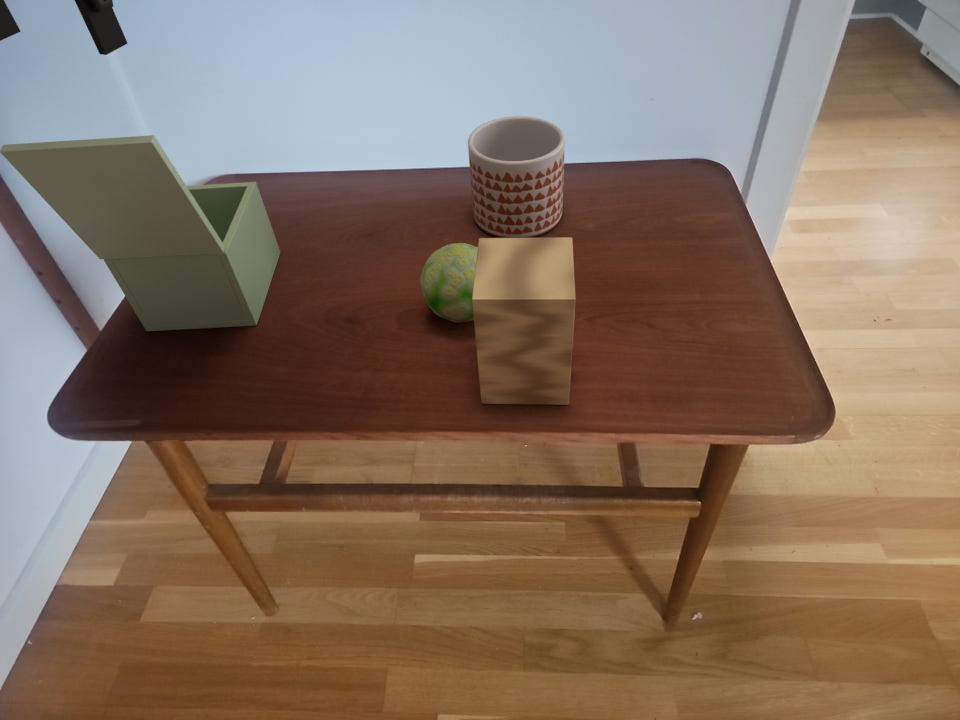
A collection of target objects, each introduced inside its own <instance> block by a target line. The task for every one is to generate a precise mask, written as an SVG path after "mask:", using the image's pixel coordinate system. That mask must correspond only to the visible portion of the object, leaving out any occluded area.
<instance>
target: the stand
mask: <svg viewBox="0 0 960 720" xmlns="http://www.w3.org/2000/svg"><path fill="white" fill-rule="evenodd" d="M573 241H574V240H573V237H571V236H570V237H565V236H562V237H561V236H560V237H557V236H556V237H532V238H500V237H479V238H478V243H477V247H478V251H477V260H476V269H475V278H474V287H473V296H472V304H473V315H474V320H473V324H474V325H473V326H474V336H475V337H474V338H475V347H476V348H475V349H476V358H477V368H478V369H477V372H478V381H479V392H480V403H481V405H482V404H483V405H547V406H558V405H559V406H568V405H570V394H571V393H570V391H571V378H572V377H571V376H572V375H571V374H572V362H573V361H572V360H573V345H574V331H575V315H576V297H577V296H576V283H575V282H576V281H575V280H576V279H575V265H574V264H575V263H574V243H573Z"/></svg>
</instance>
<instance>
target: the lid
mask: <svg viewBox="0 0 960 720" xmlns="http://www.w3.org/2000/svg"><path fill="white" fill-rule="evenodd" d="M0 154H1V155H2V156H3V157H4V158H5V159H6V160H7V161H8V162H9V164H10V165H11V166H12V167H13V168H14V169H15V170H16V171H17V172H18V174H20V176H21V177H23V179H24V180H25V181H26V182H27V183H28V184H29V185H30V186H31V187H32V188H33V190H35V191H36V193H37V194H38V195H39V196H40V197H41V198H42V199H43V200H44V201H45V203H47V204H48V205H49V206H50V208H51V209H52V210H53V211H54V212H55V213H56V214H57V215H58V216H59V218H61V219H62V221H63V222H64V223H65V224H66V225H67V226H68V227H69V228H70V229H71V230H72V231H73V232H74V233H75V234H76V235H77V237H78V238H79V239H80V240H81V241H82V242H83V243H84V244H85V245H86V246H87V247H88V248H89V249H90V250H91V251H92V252H93V254H94V255H95V256H96V257H97V258H98V259H99V260H104V259H116V258H133V257H151V256H168V255H186V254H203V253H221V252H224V247H225V246H224V244H223V243H222V241H221V240H220V238H219V236H218V235H217V233H216V232H215V230H214V229H213V227H212V225H211V224H210V222H209V221H208V219H207V218H206V216H205V214H204V213H203V211H202V210H201V208H200V207H199V205H198V203H197V202H196V200H195V199H194V197H193V196H192V194H191V193H190V191H189V189H188V188H187V186H188V185H187V184H186V183H185V181H184V179H183V178H182V177H181V175H180V173H178V170H177V168H176V167H175V165H174V164H173V163H172V161H171V160H170V158H169V156H168V155H167V153H166V152H165V150H164V149H163V147H162V146H161V144H160V142H159V141H158V139H157V138H156V136H155V135H153V134H152V135H135V136H121V137H120V136H119V137H108V138H107V137H106V138H105V137H104V138H88V139H87V138H86V139H73V140H72V139H71V140H60V141H59V140H57V141H56V140H55V141H43V142H42V141H41V142H27V143H25V142H24V143H9V144H8V143H7V144H2V146H1V148H0Z"/></svg>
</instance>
